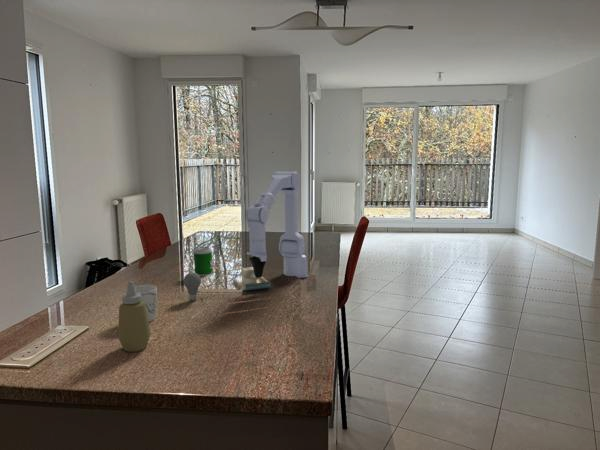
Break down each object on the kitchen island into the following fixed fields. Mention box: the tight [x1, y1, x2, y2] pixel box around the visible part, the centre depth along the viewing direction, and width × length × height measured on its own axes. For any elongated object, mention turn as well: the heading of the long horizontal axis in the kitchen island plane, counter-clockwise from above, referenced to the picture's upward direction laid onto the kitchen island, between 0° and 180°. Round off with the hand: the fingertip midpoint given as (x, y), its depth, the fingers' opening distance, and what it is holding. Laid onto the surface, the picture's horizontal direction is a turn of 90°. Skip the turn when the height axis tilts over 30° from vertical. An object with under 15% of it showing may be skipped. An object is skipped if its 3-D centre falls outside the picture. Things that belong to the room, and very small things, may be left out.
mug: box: [134, 284, 158, 323], centre depth 136 cm, size 11×8×10 cm
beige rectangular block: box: [241, 266, 258, 285], centre depth 172 cm, size 4×4×6 cm
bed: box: [232, 276, 269, 290], centre depth 171 cm, size 12×10×2 cm
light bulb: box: [182, 271, 202, 302], centre depth 155 cm, size 6×6×10 cm
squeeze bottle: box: [117, 280, 151, 353], centre depth 116 cm, size 8×8×18 cm
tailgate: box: [242, 281, 272, 291], centre depth 163 cm, size 9×1×6 cm
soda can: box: [193, 246, 214, 277], centre depth 187 cm, size 8×8×12 cm
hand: (258, 276), depth 160 cm, fingers closed
